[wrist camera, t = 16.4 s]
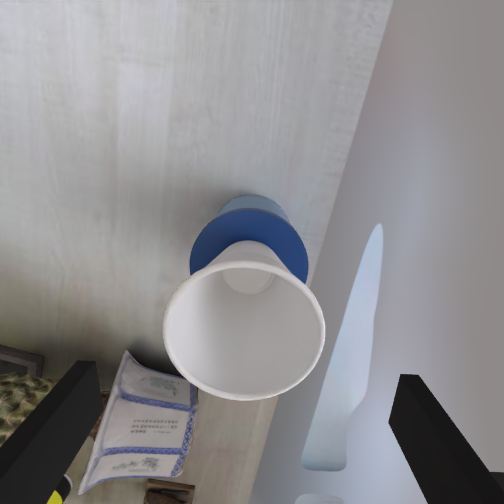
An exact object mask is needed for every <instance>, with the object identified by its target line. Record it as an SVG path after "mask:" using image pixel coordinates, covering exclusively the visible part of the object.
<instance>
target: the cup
mask: <svg viewBox="0 0 504 504" xmlns="http://www.w3.org/2000/svg"><path fill="white" fill-rule="evenodd" d="M162 335H163V340H164V345H165V349H166V351H167V353H168V355H169V358H170V360H171V362H172V363H173V364H174V366H175V367H176V369H177V370H178V371H179V372H180V373H181V374H182V375H183V376H184V377H185V378H186V379H187V380H188V381H189V382H190V383H192V384H193V385H195V386H197V387H198V388H200V389H201V390H203V391H206V392H208V393H210V394H212V395H215V396H219V397H222V398H226V399H232V400H241V401H245V400H259V399H264V398H269V397H273V396H275V395H278V394H281V393H283V392H285V391H287V390H289V389H291V388H292V387H294V386H296V385H297V384H298V383H300V382H301V381H302V380H303V379H304V378H305V377H306V376H308V374H309V373H310V372H311V370H312V369H313V368H314V366H315V365H316V363H317V361H318V359H319V357H320V355H321V353H322V350H323V346H324V342H325V323H324V318H323V313H322V310H321V308H320V306H319V304H318V302H317V299H316V298H315V296H314V295H313V294H312V292H311V291H310V290H309V289H308V287H307V286H306V285H305V284H304V283H303V282H301V281H300V280H299V279H298V278H297V277H295V276H294V275H293V274H291V272H290V271H289V270H288V269H287V268H286V266H285V265H284V264H283V263H282V261H281V260H280V259H279V258H278V257H277V255H276V254H275V253H274V252H273V250H272V249H270V248H269V247H268V246H266V245H264V244H263V243H260V242H257V241H251V240H246V241H240V242H236V243H234V244H232V245H230V246H229V247H228V248H226V249H225V250H224V251H223V252H222V253H221V254H220V255H218V256H217V257H216V258H215V259H214V260H213V261H212V262H211V263H210V264H208V265H207V266H206V267H205V268H203V269H201V270H199V271H197V272H195V273H194V274H193V275H191V276H190V277H189V278H187V279H186V280H185V281H183V282H182V284H181V285H180V286H179V287H178V288H177V289H176V291H175V292H174V293H173V295H172V297H171V298H170V300H169V302H168V304H167V306H166V309H165V313H164V317H163V327H162Z"/></svg>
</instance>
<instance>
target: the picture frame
mask: <svg viewBox="0 0 504 504" xmlns="http://www.w3.org/2000/svg"><path fill="white" fill-rule="evenodd" d="M43 359H44V357H42V356H38V355H34V354H31V353H27V352H24V351H20V350H16V349H13V348H9V347H5V346H2V345H0V375H4V374H10V373H13V372H18V373H21V374H22V375H28V374H30V375H32V376H35V377H38V378H41V376H42V367H43Z"/></svg>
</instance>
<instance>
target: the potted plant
mask: <svg viewBox="0 0 504 504" xmlns="http://www.w3.org/2000/svg"><path fill="white" fill-rule="evenodd" d="M59 381H60V380H55V379H48V380H45V379H41V378H38V377H35V376H32V375H30V374H28V375H22V374H21V373H18V372H13V373H10V374H4V375H0V447H1V446H2V445H3V443H4V442H5V441H6V440H7V439H8V438H9V437H10V436H11V434H12V433H13V432H14V431H15V430H16V429H17V428H18V427H19V425H20V424H21V423H22V422H23V421H24V420H25V419H26V418H27V417H28V415H29V414H30V413H31V412H32V411H33V410H34V409H35V408H36V406H37V405H38V404H39V403H40V402H41V401H42V400H43V399H44V397H45V396H46V395H47V394H48V393H49V392H50V391H51V390H52V388H53V387H54V386H55V385H56V384H57V383H58V382H59ZM101 396H102V402H103V407H104V411H103V412H102V414H101V416H100V417H99V419H98V420H97V422H96V424H95V425H94V427H93V429H92V430H91V432H90V434H89V435H88V436H89V437H92V438H93V439H94V442H95V443H94V446H93V449H92V451H91V454H90V458H89V461H88V464H87V466H86V469H85V471H84V474H83V477H82V480H81V483H80V486H79V489H78V495H81V494H83V493H84V492H86V491H87V490H89V489H90V488H92V487H93V486H95V485H97V484H99V483H101V482H103V481H106V480H110V479H116V478H126V477H154V478H174V477H178V476H179V475H180V474H181V473H182V472H183V466H184V464H185V462H186V459H187V455H188V452H189V450H190V447H191V444H192V442H193V437H194V432H195V423H196V417H197V410H198V408H199V401H198V387H197V386H195V385H193V384H192V383H190V382H189V381H188V380H187V379H186V378H184V377H179V376H175V375H171V374H166V373H162V372H159V371H155V370H152V369H149V368H146V367H144V366H142V365H140V364H139V363H138V362H137V361H136V360H135V359H134V358H133V357H132V355H131V354H130V353H129V352H128V350H126V351H124V353H123V356H122V361H121V364H120V366H119V369H118V371H117V374H116V377H115V380H114V383H113V386H112V390H111V391H103V392H101Z"/></svg>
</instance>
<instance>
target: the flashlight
mask: <svg viewBox="0 0 504 504" xmlns="http://www.w3.org/2000/svg"><path fill="white" fill-rule="evenodd" d="M72 486H73V485H72V481H71V479H70V478H69V477H68V476H67V475H66V474H64V476H63V478H62V479H61V481H60V482H59V484H58V486H57V487H56V489H55V491H54V492H53V494H52V496H51V497H50V499H49V500H48V502H47V504H63V502H64V501H65V499H66V498H67V496H68V495H69V493H70V491H71V490H72Z"/></svg>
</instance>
